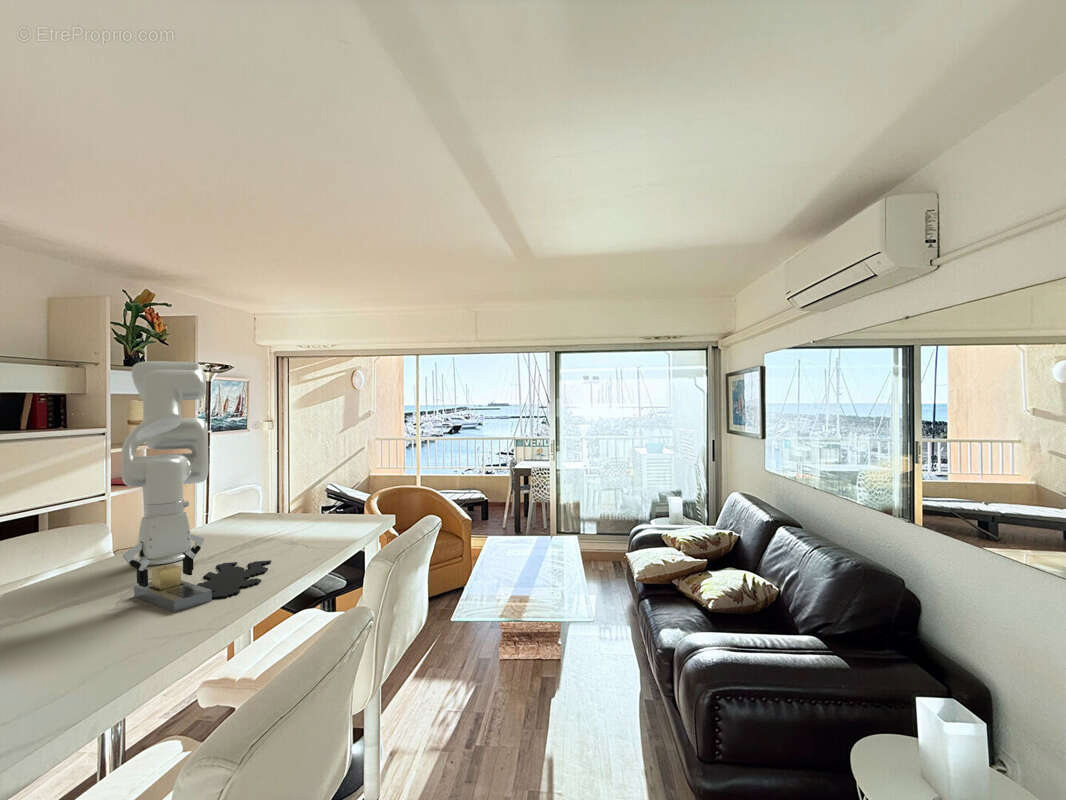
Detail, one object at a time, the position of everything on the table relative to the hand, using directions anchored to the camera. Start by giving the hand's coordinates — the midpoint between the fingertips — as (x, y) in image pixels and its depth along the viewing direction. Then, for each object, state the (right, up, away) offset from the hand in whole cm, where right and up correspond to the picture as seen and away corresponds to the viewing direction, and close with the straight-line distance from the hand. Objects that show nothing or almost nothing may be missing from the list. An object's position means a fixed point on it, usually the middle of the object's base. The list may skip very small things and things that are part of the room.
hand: (166, 580), depth 131 cm
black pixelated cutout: (+9, -4, +12) cm, 16 cm away
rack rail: (+3, -4, -2) cm, 5 cm away
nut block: (0, -4, 0) cm, 4 cm away
